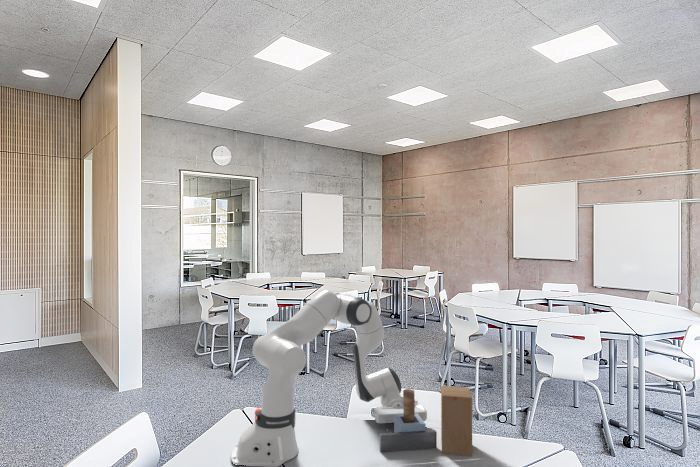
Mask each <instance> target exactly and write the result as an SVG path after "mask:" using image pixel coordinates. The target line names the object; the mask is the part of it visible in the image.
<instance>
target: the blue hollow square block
mask: <svg viewBox="0 0 700 467" xmlns="http://www.w3.org/2000/svg"><path fill="white" fill-rule="evenodd" d="M393 424H394V425H393V427H394V428H393V429H394V431H393V433H397V432H412V431H427V430H426V426H427V425H426V423H425V421H423V420H422V419H421V417H420V416H419V415H418V413H416V414H415V422H414V423H404V414H399V415H394V423H393Z"/></svg>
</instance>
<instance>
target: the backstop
mask: <svg viewBox="0 0 700 467" xmlns="http://www.w3.org/2000/svg"><path fill="white" fill-rule="evenodd" d="M385 430H386V432H383V433H379V452H380V453H382V454H383V453H392V452H407V451H409V452H410V451H419V450H420V451H421V450H422V451H423V450H434V449H437V446H438V445H437V443H438V442H437V439H438V438H437V437H438V436H437V432H438V431H436V430H435V429H431V430H430V429H428V430H426V431H412V432H397V433H394V432H393V431H392V430H391V428H390V427H387V428H386V429H385Z"/></svg>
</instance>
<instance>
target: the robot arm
mask: <svg viewBox="0 0 700 467" xmlns="http://www.w3.org/2000/svg"><path fill="white" fill-rule="evenodd" d="M331 320H335V321H338V322H340V323H343V324H345V325H352V326H355V331H356V333H357V334H356V336H357V337H356V340H355V342H354V344H353V346H352V353H353V354H352V355H353V365H354V374H355V391H356V394H357V396H358V398H359V399H360V400H361V401H363V402H366V403H369V402H371V401H373V400H375V399H376V398H379V399H380V403H381V406H377V407H376V408H374V409H372V410H371V412H372V414H373V415H374V420H375V422H376V423H377V424H394V415H399V414H404V411H403V396H402V395H401V392H402V388H403V387H402V382H401V380H400V377H399V376H398V374H397V372H396V371H395V370H394V369H392V368H391V367H386V368H383V369H380V370H378V371H376V372H372V373H370V374H367V375H366V367H365V361H366V359H367V358H368V356H369V355H370V354H371V353H372V352H374V351H375V350H376V349H377V348H378V347H380V345H381V344H382V343H383V341H384V339H385V330H384V325H383V322H382V319H381V316H380V314H379V311H378V308H377V307H376V305H375V303H373V301H369V300H365V299H364V298H361V297H357V296H355V295H352V294H347V293H339V292H337V293H335V292H333V291H331V290H328V289H324V290H322V291H320V292H319V293H317V294H315V295H314V296H313V297H312V298H310V300H308V302H306V303H305V304H304V305H303V306H302V307H301V308H300V309H299V310H298V311H297V312H296V313H295V314H294V315H293V316H292V317H291V318H290V319H288V320H287V321H286V322H284V323H283V324H281V325H280V326H278V327H276V328H275V329H273V330H272V331H270V332H268V333H266V334H263V335H260V336H258V338H256V340H254V343H253V345H252V348H251V349H252V356H253V357H254V358H255V360H256V361H257V362H258V363H259V365H261V366H264V367H266V368H267V370H268V374H267V375H268V376H267V379H266V383H265V384H264V385H262V388H261V399H260V400H261V402H260V404H261V408H259V407H257V408H256V409H255V412H254V415H255V416H254V422H253V423H252V424H251V425H249V427H248V428H246V429H244V430H243V432H242V433H241V435H240V437H239V439H238V443H237V444H236V445H235V446H234V447H233V448H232V451H231V453H230V454H231V455H230V462H231V461H232V462H233V463H234V464H237V465H244V466H243V467H280V466H282V464H284V463H285V462H289V461H290V460H291V459H293V458H295V457H296V456H297V455H298V453H299V447H298V442H297V438H296V430H295V427H296V409H295V406H294V405H295V387H296V386H295V385H296V381H297V378H298V376H299V374H300V373H301V372H303V370H304V368H305V367H306V366H305V365H306V363H307V355H306V352H305V350H304V349H303V348H301V347H302V346H303V345H305V344H309V343H311V342H313V340H315V338H317V337H318V335H319V334H320V333H321V332H322V331H323V329H325V328H326V327H327V325H328V324H329V323H330V322H331ZM414 401H415V414H416V413H418V415H419V416H420V417H421V419H422V420H423V421H424V422H425V421H427V420H428V413H427V409H426V408H425V407H424V406H423V405H422V404H421V403H419V402H418V399H416V398H414ZM232 462H231V463H232ZM245 465H246V466H245Z"/></svg>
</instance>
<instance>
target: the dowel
mask: <svg viewBox="0 0 700 467" xmlns="http://www.w3.org/2000/svg"><path fill="white" fill-rule="evenodd" d="M402 392H403V394H402V397H403V411H404V423H414V422H415V401H414V399H415V390H414V389H410V388H406V389H403V391H402Z"/></svg>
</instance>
